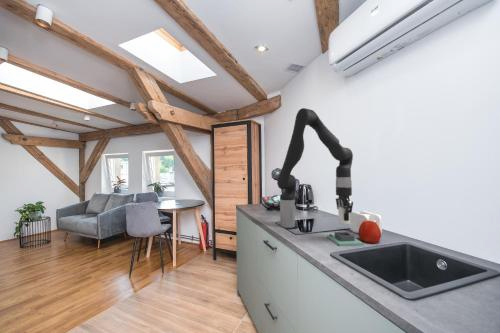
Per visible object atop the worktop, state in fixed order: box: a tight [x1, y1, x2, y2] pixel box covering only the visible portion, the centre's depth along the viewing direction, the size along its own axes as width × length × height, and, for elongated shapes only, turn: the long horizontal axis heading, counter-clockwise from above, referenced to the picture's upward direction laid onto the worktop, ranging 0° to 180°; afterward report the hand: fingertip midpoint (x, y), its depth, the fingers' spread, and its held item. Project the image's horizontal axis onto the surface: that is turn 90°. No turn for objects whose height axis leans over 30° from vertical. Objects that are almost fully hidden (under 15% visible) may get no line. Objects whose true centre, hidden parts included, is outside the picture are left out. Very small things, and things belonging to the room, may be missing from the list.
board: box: [326, 231, 364, 247], centre depth 113 cm, size 14×12×4 cm
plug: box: [337, 206, 350, 225], centre depth 113 cm, size 4×4×8 cm
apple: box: [357, 221, 382, 244], centre depth 113 cm, size 10×10×10 cm
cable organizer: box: [349, 210, 383, 235], centre depth 127 cm, size 15×11×12 cm
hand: (344, 219), depth 113 cm, fingers closed on plug, 4 cm apart
